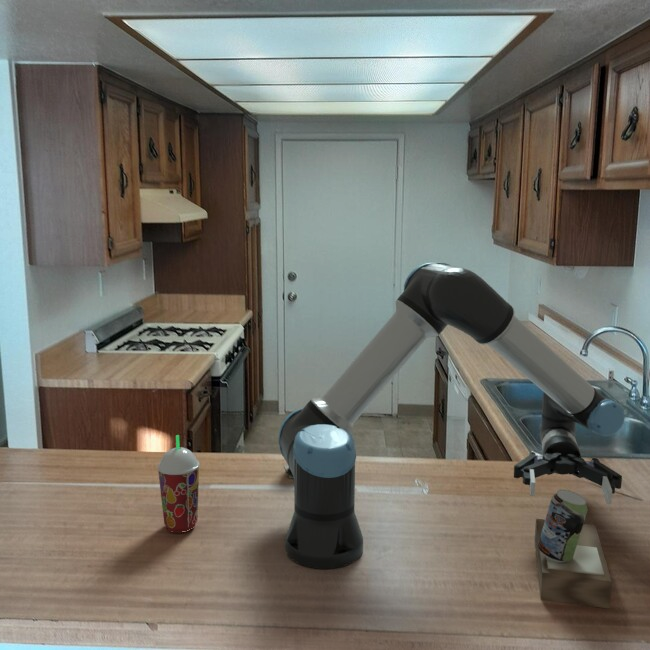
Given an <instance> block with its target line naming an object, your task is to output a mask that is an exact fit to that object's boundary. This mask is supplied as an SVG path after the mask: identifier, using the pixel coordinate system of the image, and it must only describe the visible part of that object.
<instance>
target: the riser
mask: <svg viewBox="0 0 650 650" xmlns="http://www.w3.org/2000/svg"><path fill="white" fill-rule="evenodd" d="M544 523H545V519H542V518H535V528H534V529H535V530H534V531H535V532H534V549H536V551H535V560H536V559H537V561H536V568H538V570H537V577H538V586H539V587H538V588H539V597H540V598H539V599H540V600H545V601H552V602H559V603H567V604H574V605H580V606H588V607H594V608H595V607H596V608H603V609H610V607H611V594H612V586H613V585H612V583H613V580H612V577H611V575H610V571H609V566H608V564H607V561H606V558H605V554H604V550H603V547H602V544H601V540H600V537H599V533H598V530H597V527H596V525H595V524H587V523H584V524H583V527H582V530H581V534H580V537H579V540H578V543H577V546H576V550H575V553H574V556H573V559H572V560H570V561H566V562H556V561H553V560H551V559H549V558H547V557H546V556H544V555H543V553H542V552H541V551H540V549H539V548H538V543H539V540H540V536H541V533H542V530H543V526H544Z"/></svg>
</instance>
